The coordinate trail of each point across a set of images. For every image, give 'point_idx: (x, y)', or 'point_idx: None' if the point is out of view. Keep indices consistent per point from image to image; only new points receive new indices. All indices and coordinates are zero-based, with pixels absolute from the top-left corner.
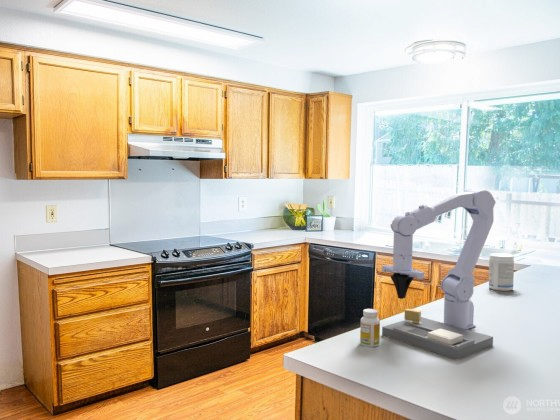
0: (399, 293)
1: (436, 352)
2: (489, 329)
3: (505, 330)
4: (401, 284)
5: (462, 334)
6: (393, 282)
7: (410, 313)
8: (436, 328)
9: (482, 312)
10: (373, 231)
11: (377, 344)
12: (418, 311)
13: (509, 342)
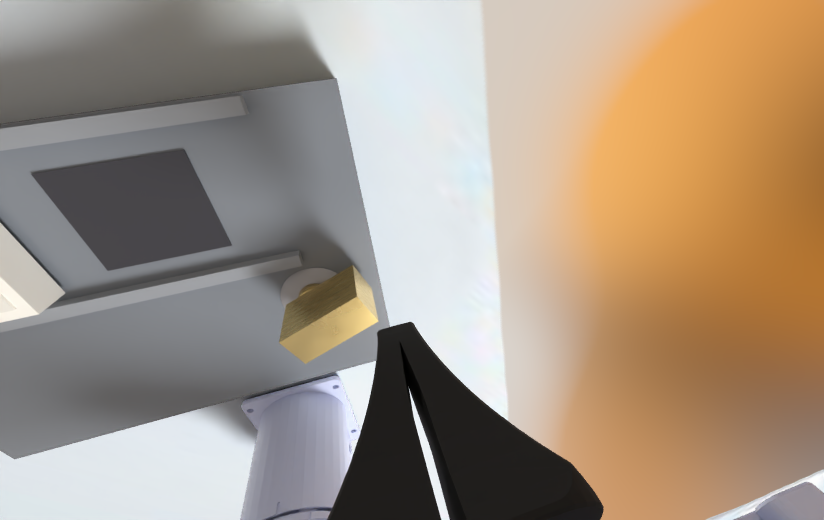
0: (397, 354)
1: None
2: (241, 471)
3: (217, 497)
4: (370, 457)
5: (68, 380)
6: (502, 419)
7: (325, 305)
8: (200, 331)
9: None
10: None
11: None
12: (294, 345)
13: (81, 470)
